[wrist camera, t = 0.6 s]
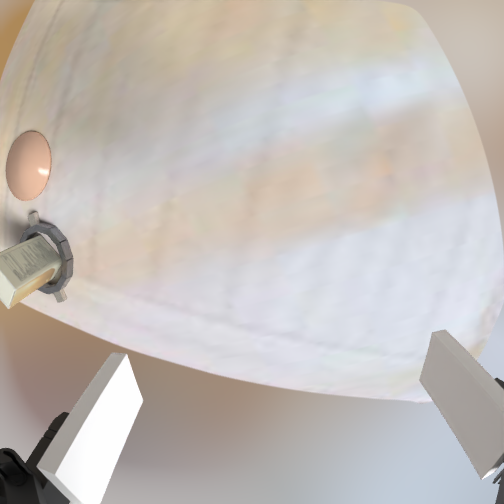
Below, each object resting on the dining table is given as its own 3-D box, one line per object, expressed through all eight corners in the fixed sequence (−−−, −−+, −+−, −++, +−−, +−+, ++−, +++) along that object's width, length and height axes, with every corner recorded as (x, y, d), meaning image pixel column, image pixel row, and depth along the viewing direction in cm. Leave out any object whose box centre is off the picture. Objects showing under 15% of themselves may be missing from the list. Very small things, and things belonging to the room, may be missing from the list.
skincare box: (31, 252, 38) (-18, 276, 26) (41, 233, 37) (-12, 254, 25) (55, 280, 39) (7, 311, 27) (65, 261, 38) (15, 290, 26)
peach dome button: (4, 149, 33) (2, 149, 32) (45, 119, 32) (43, 119, 31) (15, 209, 36) (13, 210, 35) (57, 185, 35) (55, 185, 34)
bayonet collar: (15, 223, 36) (9, 225, 35) (56, 202, 35) (49, 203, 34) (44, 304, 40) (38, 308, 38) (87, 293, 39) (81, 298, 37)
